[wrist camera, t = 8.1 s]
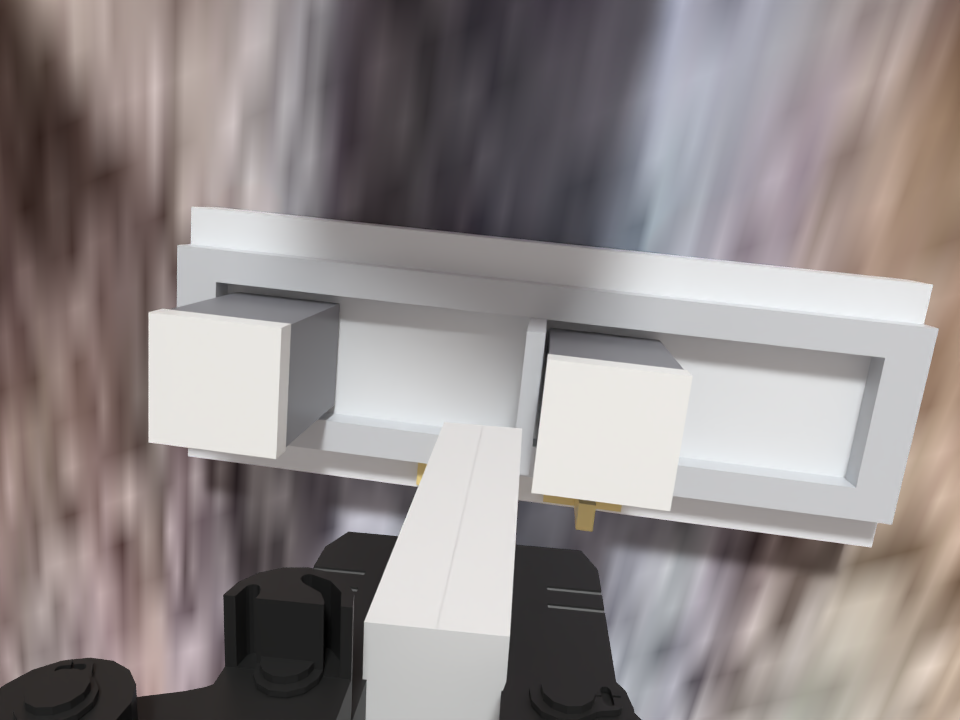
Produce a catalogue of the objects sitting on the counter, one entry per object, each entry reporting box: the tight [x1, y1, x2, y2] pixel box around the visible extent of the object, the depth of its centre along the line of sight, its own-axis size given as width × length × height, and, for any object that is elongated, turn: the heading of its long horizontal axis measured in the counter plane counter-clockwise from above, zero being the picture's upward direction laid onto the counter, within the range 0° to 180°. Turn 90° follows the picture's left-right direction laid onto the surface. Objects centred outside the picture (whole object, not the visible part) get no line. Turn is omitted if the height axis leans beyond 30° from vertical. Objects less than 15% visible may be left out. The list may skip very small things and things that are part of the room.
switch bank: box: [177, 207, 938, 547], centre depth 26 cm, size 27×10×6 cm, turn 84°
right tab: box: [531, 328, 693, 511], centre depth 24 cm, size 4×4×6 cm
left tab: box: [149, 292, 340, 459], centre depth 25 cm, size 4×4×6 cm
